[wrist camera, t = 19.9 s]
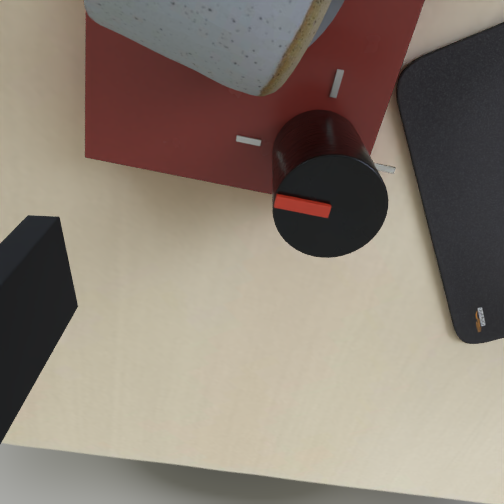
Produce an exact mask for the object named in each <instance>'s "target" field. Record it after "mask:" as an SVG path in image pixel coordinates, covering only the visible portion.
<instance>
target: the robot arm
mask: <svg viewBox="0 0 504 504" xmlns="http://www.w3.org/2000/svg"><path fill="white" fill-rule="evenodd" d="M77 307H78V304H77V300H76V295H75V290H74V285H73V280H72V276H71V271H70V266H69V261H68V256H67V251H66V247H65V242H64V237H63V232H62V227H61V223H60V218H59V217H51V216H29V215H28V216H27V217H26V218H25V219H24V220H23V221H22V222H21V223H20V224H19V225H18V226H17V227H16V228H15V229H14V230H13V231H12V232H11V233H10V234H9V235H8V236H7V237H6V238H5V239H4V240H3V241H2V242H1V243H0V444H1V442H2V440H3V438H4V437H5V435H6V433H7V431H8V430H9V428H10V426H11V424H12V422H13V421H14V419H15V417H16V415H17V414H18V412H19V410H20V408H21V407H22V405H23V403H24V401H25V399H26V398H27V396H28V394H29V392H30V391H31V389H32V387H33V385H34V383H35V382H36V380H37V378H38V376H39V375H40V373H41V371H42V369H43V368H44V366H45V364H46V362H47V360H48V359H49V357H50V355H51V353H52V352H53V350H54V348H55V346H56V344H57V343H58V341H59V339H60V337H61V336H62V334H63V332H64V330H65V329H66V327H67V325H68V323H69V321H70V320H71V318H72V316H73V314H74V313H75V311H76V309H77Z"/></svg>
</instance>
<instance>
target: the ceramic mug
mask: <svg viewBox="0 0 504 504" xmlns="http://www.w3.org/2000/svg"><path fill="white" fill-rule="evenodd" d="M331 1H332V0H84V5H85V9H86V12H87V14H88V15H89V17H90V18H92V19H93V20H94V21H95V22H96V23H98V24H100V25H102V26H104V27H106V28H108V29H110V30H113V31H115V32H117V33H119V34H121V35H123V36H125V37H127V38H129V39H131V40H133V41H135V42H137V43H139V44H141V45H143V46H145V47H147V48H149V49H151V50H153V51H155V52H157V53H159V54H161V55H163V56H165V57H167V58H169V59H172V60H174V61H176V62H178V63H180V64H183V65H185V66H187V67H189V68H191V69H193V70H195V71H197V72H199V73H201V74H203V75H205V76H206V77H208V78H210V79H212V80H214V81H216V82H218V83H220V84H222V85H224V86H226V87H229V88H232V89H234V90H237V91H240V92H244V93H247V94H250V95H254V96H266V95H269V94H271V93H274V92H275V91H277V90H278V89H279V88H280V87H282V85H283V84H284V83H285V82H286V80H287V79H288V78H289V76H290V75H291V74H292V72H293V71H294V69H295V68H296V66H297V65H298V63H299V62H300V60H301V58H302V56H303V55H304V53H305V51H306V50H307V48H308V46H309V44H310V43H311V41H312V39H313V38H314V36H315V34H316V32H317V30H318V28H319V26H320V24H321V22H322V20H323V18H324V16H325V14H326V12H327V9H328V7H329V5H330V3H331Z"/></svg>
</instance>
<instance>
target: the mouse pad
mask: <svg viewBox="0 0 504 504" xmlns="http://www.w3.org/2000/svg"><path fill="white" fill-rule="evenodd" d="M397 102H398V107H399V111H400V115H401V119H402V123H403V127H404V131H405V135H406V139H407V143H408V147H409V151H410V155H411V159H412V163H413V167H414V171H415V175H416V179H417V183H418V187H419V191H420V195H421V199H422V203H423V207H424V211H425V215H426V219H427V223H428V227H429V231H430V235H431V239H432V243H433V247H434V251H435V255H436V258H437V262H438V266H439V270H440V274H441V278H442V282H443V286H444V290H445V294H446V298H447V302H448V306H449V310H450V314H451V318H452V322H453V326H454V329H455V332H456V334H457V336H458V337H459V338H460V339H461V340H462V341H463V342H465V343H469V344H478V343H484V342H489V341H493V340H497V339H500V338H504V23H501V24H499V25H496V26H494V27H491V28H489V29H487V30H484V31H482V32H479V33H477V34H474V35H472V36H470V37H467V38H465V39H462V40H460V41H457V42H455V43H452V44H450V45H448V46H445V47H443V48H440V49H438V50H435V51H433V52H430V53H428V54H426V55H424V56H422V57H420V58H418V59H416V60H415V61H413V62H412V63H410V64H409V65H408V66H407V67H406V68H405V69H404V70H403V72H402V73H401V74H400V77H399V79H398V83H397Z"/></svg>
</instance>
